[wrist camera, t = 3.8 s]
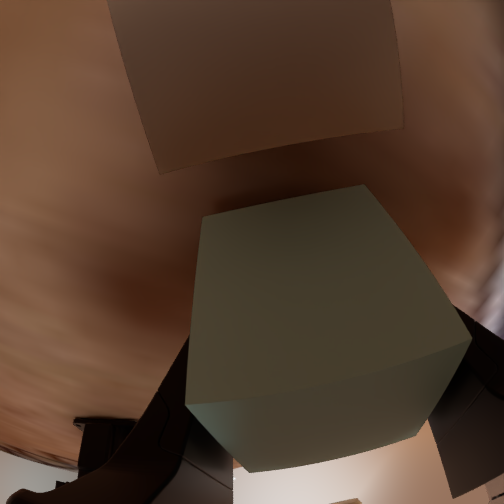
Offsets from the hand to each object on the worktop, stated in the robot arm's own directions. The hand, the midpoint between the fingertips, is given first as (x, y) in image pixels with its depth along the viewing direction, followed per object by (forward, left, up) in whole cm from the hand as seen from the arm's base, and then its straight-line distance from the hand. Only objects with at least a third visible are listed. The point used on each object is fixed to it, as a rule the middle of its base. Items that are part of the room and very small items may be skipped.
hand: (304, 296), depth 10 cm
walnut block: (+8, 0, -3) cm, 8 cm away
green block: (0, 0, -2) cm, 2 cm away
